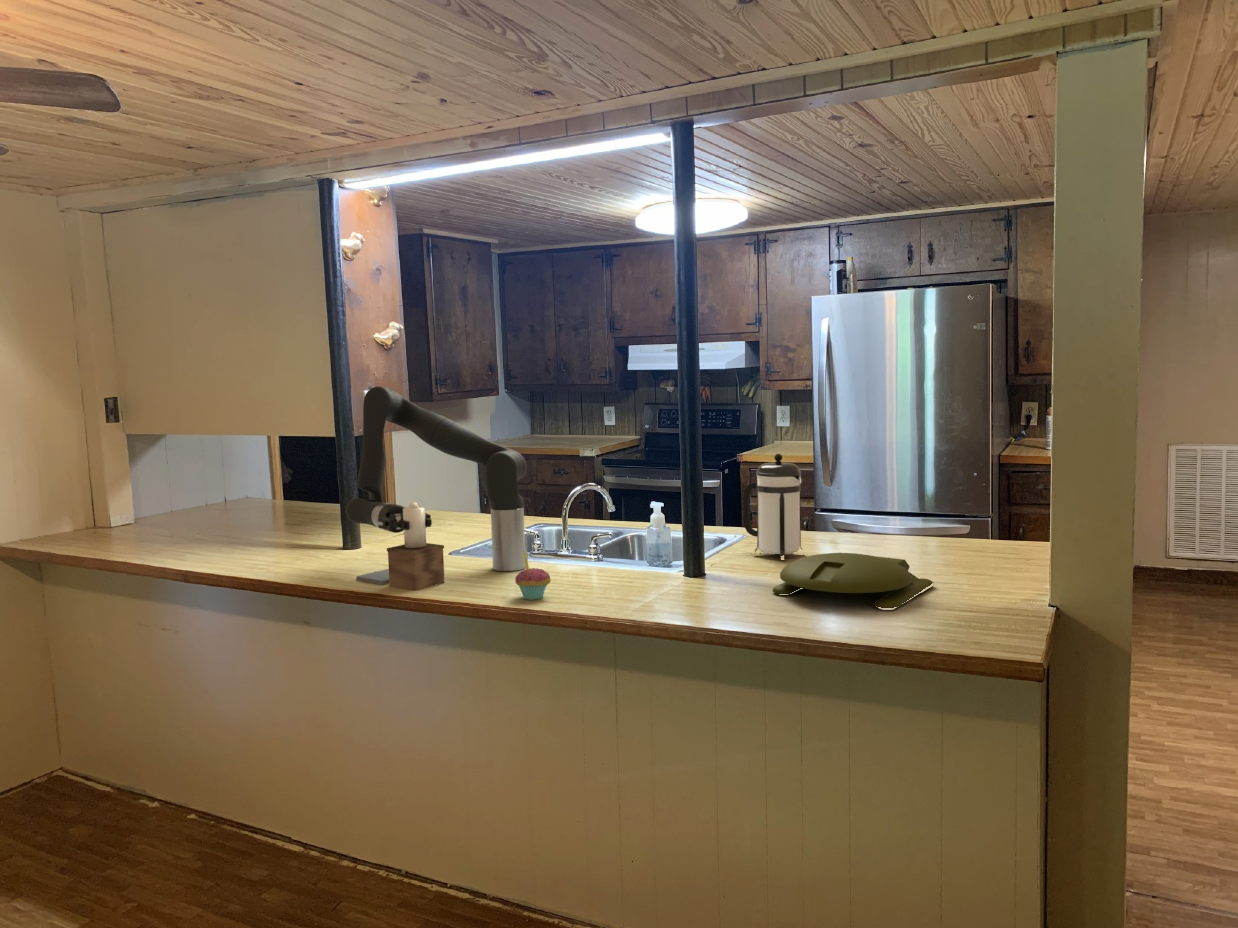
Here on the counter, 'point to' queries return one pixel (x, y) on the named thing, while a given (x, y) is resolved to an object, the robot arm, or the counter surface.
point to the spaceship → (853, 576)
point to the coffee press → (776, 508)
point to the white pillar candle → (415, 526)
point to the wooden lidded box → (416, 566)
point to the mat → (375, 577)
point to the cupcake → (532, 581)
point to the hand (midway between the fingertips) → (419, 524)
